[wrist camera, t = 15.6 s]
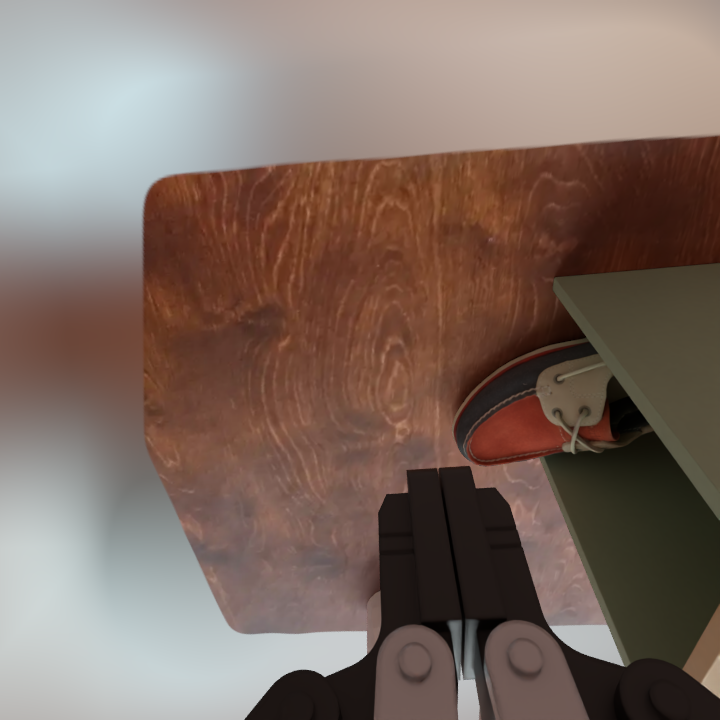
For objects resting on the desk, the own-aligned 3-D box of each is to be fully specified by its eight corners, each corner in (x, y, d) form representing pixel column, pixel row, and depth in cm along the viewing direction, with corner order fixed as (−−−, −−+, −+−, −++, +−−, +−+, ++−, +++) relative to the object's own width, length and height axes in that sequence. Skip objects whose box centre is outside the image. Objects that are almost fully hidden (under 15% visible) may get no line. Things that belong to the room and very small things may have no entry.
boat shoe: (428, 392, 47) (440, 456, 40) (736, 257, 39) (818, 307, 32) (468, 455, 51) (485, 522, 44) (751, 345, 43) (825, 406, 36)
